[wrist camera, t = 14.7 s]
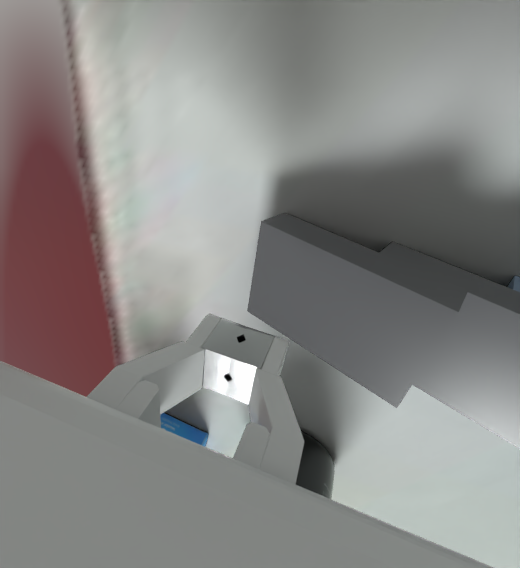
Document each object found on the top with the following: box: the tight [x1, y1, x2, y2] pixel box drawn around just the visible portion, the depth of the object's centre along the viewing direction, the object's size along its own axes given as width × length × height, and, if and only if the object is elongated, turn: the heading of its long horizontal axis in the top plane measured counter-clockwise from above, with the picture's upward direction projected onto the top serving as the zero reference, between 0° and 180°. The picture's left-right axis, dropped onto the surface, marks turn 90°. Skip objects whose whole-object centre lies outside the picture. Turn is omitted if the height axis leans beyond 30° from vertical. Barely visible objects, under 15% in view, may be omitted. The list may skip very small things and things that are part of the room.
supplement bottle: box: [295, 432, 334, 499], centre depth 19 cm, size 7×7×12 cm
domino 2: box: [379, 242, 520, 449], centre depth 13 cm, size 2×5×8 cm
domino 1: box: [248, 213, 468, 408], centre depth 14 cm, size 2×5×8 cm
